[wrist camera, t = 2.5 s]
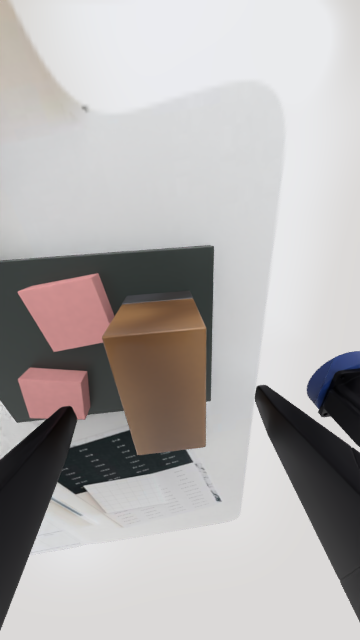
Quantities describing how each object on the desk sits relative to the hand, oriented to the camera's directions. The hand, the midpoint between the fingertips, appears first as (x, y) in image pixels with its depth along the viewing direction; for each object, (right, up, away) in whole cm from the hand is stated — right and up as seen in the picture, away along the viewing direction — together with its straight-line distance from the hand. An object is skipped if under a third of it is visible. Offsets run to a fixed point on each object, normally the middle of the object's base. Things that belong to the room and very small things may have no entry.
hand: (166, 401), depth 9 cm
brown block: (0, +2, +4) cm, 5 cm away
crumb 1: (-6, +5, +3) cm, 8 cm away
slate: (-6, +2, +5) cm, 8 cm away
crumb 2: (-9, -1, +5) cm, 10 cm away
